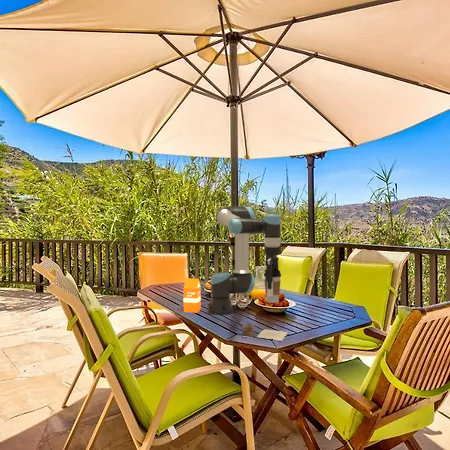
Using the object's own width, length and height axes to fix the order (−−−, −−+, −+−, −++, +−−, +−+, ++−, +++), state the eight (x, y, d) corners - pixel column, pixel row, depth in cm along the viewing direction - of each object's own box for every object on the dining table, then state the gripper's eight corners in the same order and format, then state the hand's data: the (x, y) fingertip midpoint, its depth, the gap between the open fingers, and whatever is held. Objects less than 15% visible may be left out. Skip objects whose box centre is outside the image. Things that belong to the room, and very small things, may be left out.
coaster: (256, 338, 156) (256, 336, 156) (264, 330, 167) (264, 329, 167) (281, 342, 152) (281, 340, 152) (287, 333, 163) (287, 332, 163)
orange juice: (197, 312, 201) (197, 279, 201) (183, 311, 203) (183, 279, 202) (200, 309, 208) (200, 277, 208) (187, 308, 210) (187, 277, 210)
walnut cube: (242, 337, 158) (242, 326, 158) (243, 333, 163) (243, 323, 163) (252, 337, 157) (253, 327, 157) (253, 334, 162) (253, 324, 162)
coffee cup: (279, 299, 164) (279, 268, 164) (282, 303, 155) (283, 271, 155) (262, 299, 163) (262, 269, 163) (265, 303, 155) (265, 271, 155)
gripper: (274, 248, 148) (274, 299, 148) (285, 245, 167) (285, 290, 167) (258, 247, 151) (258, 297, 151) (270, 244, 170) (270, 289, 170)
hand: (272, 293), depth 159 cm, fingers closed on coffee cup, 8 cm apart
